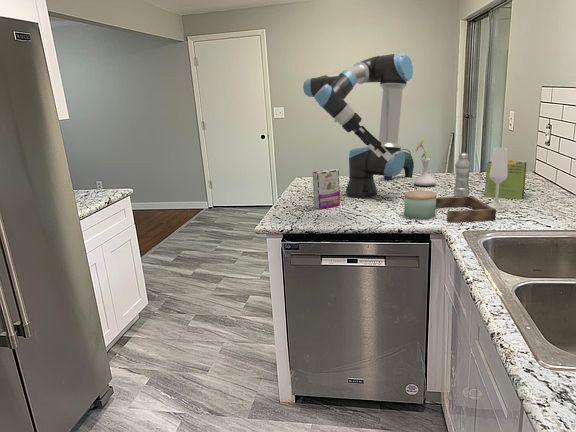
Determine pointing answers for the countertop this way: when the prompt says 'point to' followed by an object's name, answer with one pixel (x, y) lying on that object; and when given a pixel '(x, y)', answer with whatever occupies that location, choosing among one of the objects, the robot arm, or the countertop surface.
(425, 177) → the flower in vase
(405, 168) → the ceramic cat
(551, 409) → the countertop surface
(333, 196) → the candy bar box
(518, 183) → the protein box
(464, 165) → the plastic bottle
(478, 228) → the countertop surface
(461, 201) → the walnut bay
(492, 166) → the champagne flute
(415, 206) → the green canister
